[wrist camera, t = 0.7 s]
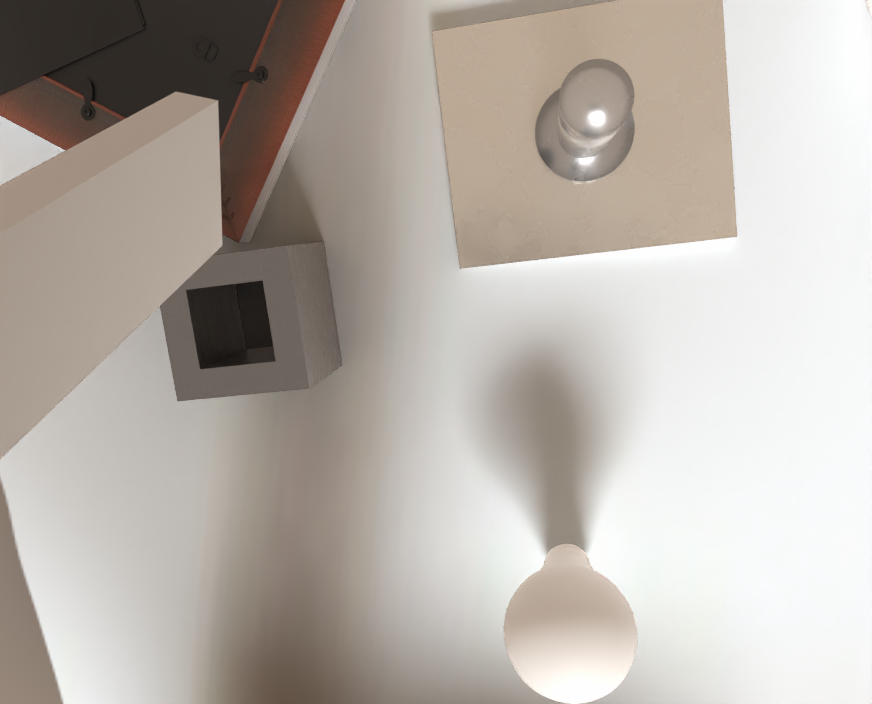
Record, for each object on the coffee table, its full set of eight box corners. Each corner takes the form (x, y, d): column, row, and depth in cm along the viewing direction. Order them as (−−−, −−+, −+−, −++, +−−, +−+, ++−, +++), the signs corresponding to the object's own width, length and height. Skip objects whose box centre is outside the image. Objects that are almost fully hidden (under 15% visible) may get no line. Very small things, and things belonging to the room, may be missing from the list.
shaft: (732, 236, 40) (816, 245, 27) (462, 267, 42) (422, 289, 29) (716, -12, 38) (799, -126, 25) (435, 35, 40) (380, -48, 27)
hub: (342, 365, 44) (309, 388, 38) (226, 377, 45) (177, 401, 39) (323, 241, 43) (287, 245, 37) (205, 256, 44) (152, 263, 38)
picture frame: (-67, 70, 45) (254, 242, 44) (-103, 62, 43) (236, 243, 42) (27, -220, 42) (379, -41, 40) (-6, -247, 39) (369, -58, 38)
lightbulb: (515, 502, 44) (503, 595, 33) (626, 512, 43) (650, 611, 32) (509, 603, 45) (496, 724, 34) (617, 614, 44) (638, 742, 33)
